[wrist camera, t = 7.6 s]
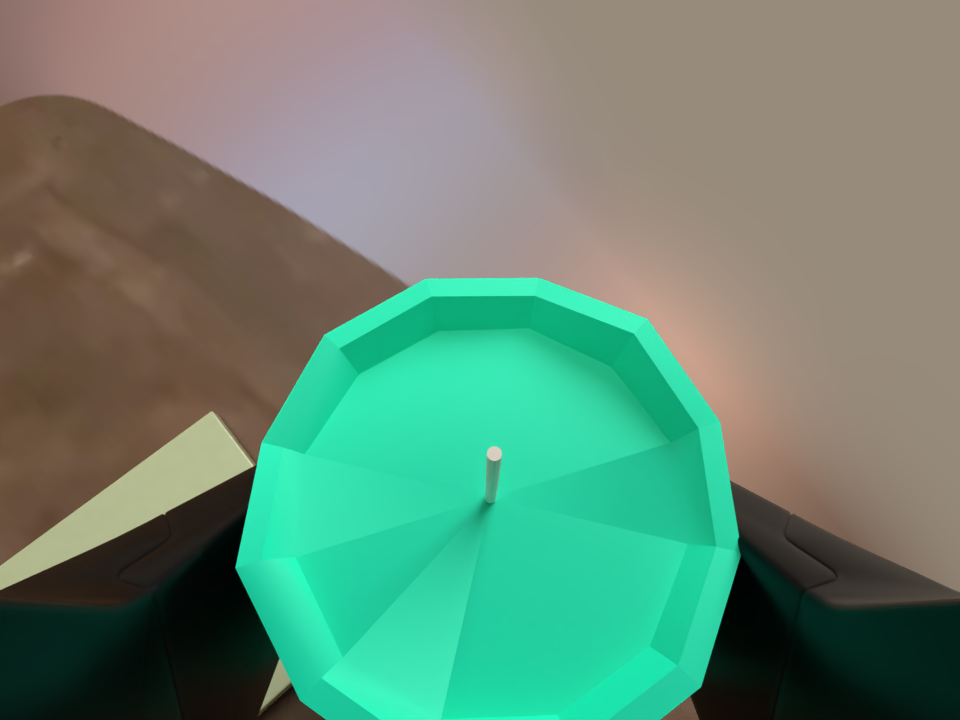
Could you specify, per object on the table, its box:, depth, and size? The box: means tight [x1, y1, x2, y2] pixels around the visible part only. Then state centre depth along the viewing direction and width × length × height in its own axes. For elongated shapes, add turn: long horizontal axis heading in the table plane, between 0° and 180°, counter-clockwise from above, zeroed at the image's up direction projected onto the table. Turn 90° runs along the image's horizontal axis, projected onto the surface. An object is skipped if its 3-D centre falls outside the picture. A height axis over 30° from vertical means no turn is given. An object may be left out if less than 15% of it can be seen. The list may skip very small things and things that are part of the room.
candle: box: [235, 278, 741, 720], centre depth 11 cm, size 6×6×12 cm
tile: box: [0, 412, 292, 716], centre depth 21 cm, size 10×10×1 cm
